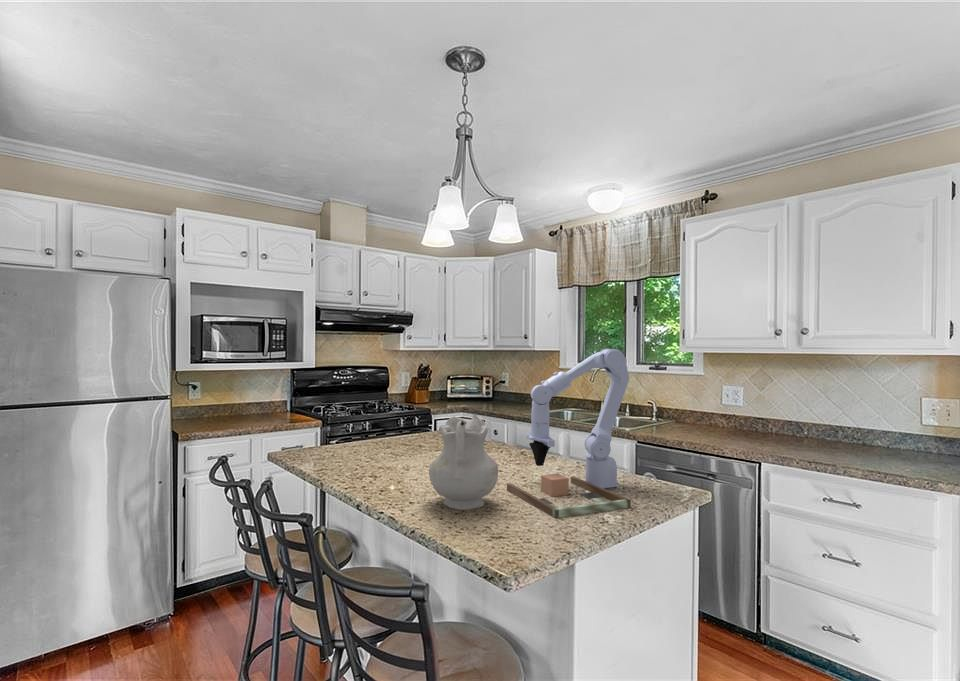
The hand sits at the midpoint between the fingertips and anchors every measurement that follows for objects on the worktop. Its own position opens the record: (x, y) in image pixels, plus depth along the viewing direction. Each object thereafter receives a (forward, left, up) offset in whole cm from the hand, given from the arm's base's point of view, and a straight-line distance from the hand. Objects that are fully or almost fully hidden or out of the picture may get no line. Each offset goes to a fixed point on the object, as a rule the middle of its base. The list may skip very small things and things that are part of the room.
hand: (539, 465), depth 166 cm
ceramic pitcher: (+30, +10, -7) cm, 32 cm away
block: (0, +9, -7) cm, 11 cm away
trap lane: (0, +15, -6) cm, 16 cm away
